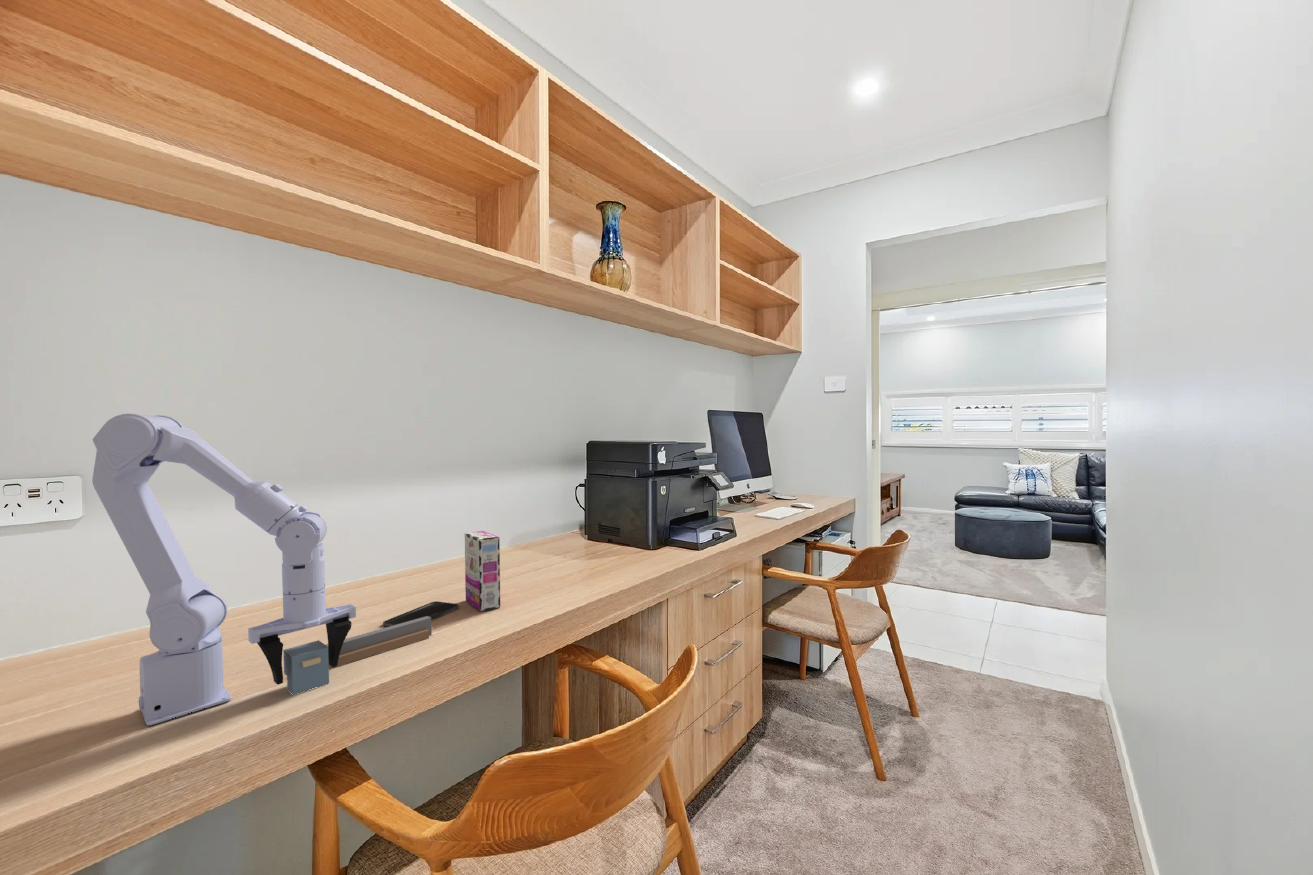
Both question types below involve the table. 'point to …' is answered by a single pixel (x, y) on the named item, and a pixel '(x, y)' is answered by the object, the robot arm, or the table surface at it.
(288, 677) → the cabinet
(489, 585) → the candy bar box
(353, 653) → the grey and brown bar
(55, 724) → the table surface
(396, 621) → the phone
